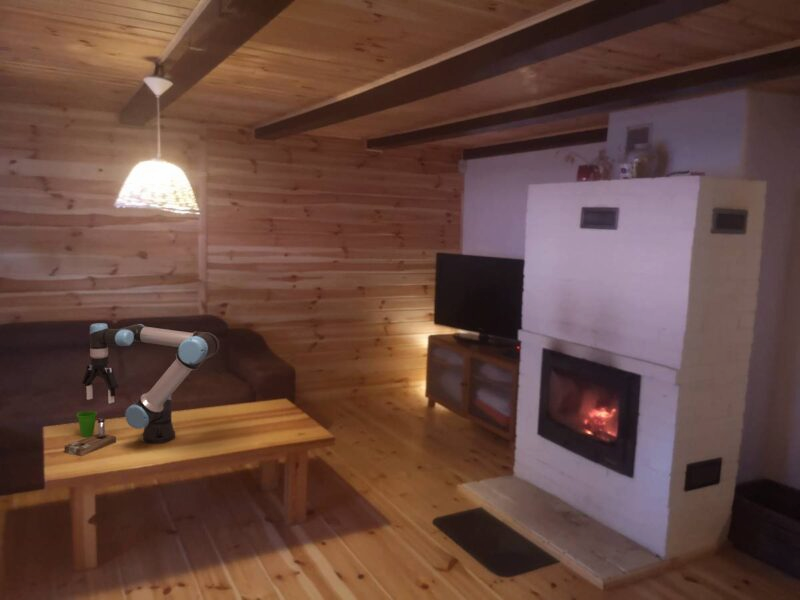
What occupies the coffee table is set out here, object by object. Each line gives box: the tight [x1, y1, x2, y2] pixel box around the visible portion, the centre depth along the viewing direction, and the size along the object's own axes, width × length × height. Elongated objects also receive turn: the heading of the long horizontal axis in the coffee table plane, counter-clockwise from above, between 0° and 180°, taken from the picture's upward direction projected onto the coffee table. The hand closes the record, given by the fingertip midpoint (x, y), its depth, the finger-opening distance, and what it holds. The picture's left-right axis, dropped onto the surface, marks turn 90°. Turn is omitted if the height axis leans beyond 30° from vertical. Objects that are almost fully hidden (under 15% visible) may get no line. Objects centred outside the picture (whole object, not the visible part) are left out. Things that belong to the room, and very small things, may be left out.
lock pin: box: [97, 417, 106, 439], centre depth 298 cm, size 3×3×12 cm
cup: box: [76, 410, 98, 438], centre depth 308 cm, size 9×9×11 cm
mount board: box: [63, 433, 117, 457], centre depth 293 cm, size 10×20×3 cm, turn 158°
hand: (100, 400), depth 297 cm, fingers open, 13 cm apart
